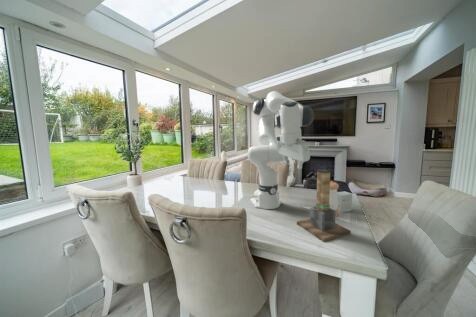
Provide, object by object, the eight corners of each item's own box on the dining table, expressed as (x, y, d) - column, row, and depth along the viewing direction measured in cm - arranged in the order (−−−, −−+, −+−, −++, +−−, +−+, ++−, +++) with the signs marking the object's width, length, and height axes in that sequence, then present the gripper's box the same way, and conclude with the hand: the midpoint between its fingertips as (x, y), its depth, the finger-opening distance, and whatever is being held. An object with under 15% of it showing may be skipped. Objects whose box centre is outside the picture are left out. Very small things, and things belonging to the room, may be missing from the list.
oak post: (315, 211, 97) (316, 170, 94) (322, 210, 99) (323, 169, 96) (322, 215, 93) (323, 171, 90) (329, 213, 95) (330, 170, 92)
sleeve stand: (296, 224, 103) (296, 205, 101) (321, 218, 108) (321, 200, 107) (323, 241, 86) (323, 219, 84) (350, 233, 92) (351, 213, 90)
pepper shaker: (332, 217, 108) (333, 183, 106) (321, 213, 115) (322, 180, 112) (340, 214, 112) (342, 181, 109) (329, 210, 118) (330, 178, 115)
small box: (343, 207, 122) (344, 190, 120) (351, 211, 116) (352, 193, 115) (333, 209, 119) (334, 192, 118) (341, 213, 114) (341, 195, 112)
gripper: (313, 139, 84) (313, 170, 88) (284, 134, 102) (286, 159, 106) (301, 142, 82) (302, 173, 86) (273, 136, 100) (276, 162, 104)
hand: (293, 166), depth 96 cm, fingers open, 8 cm apart
